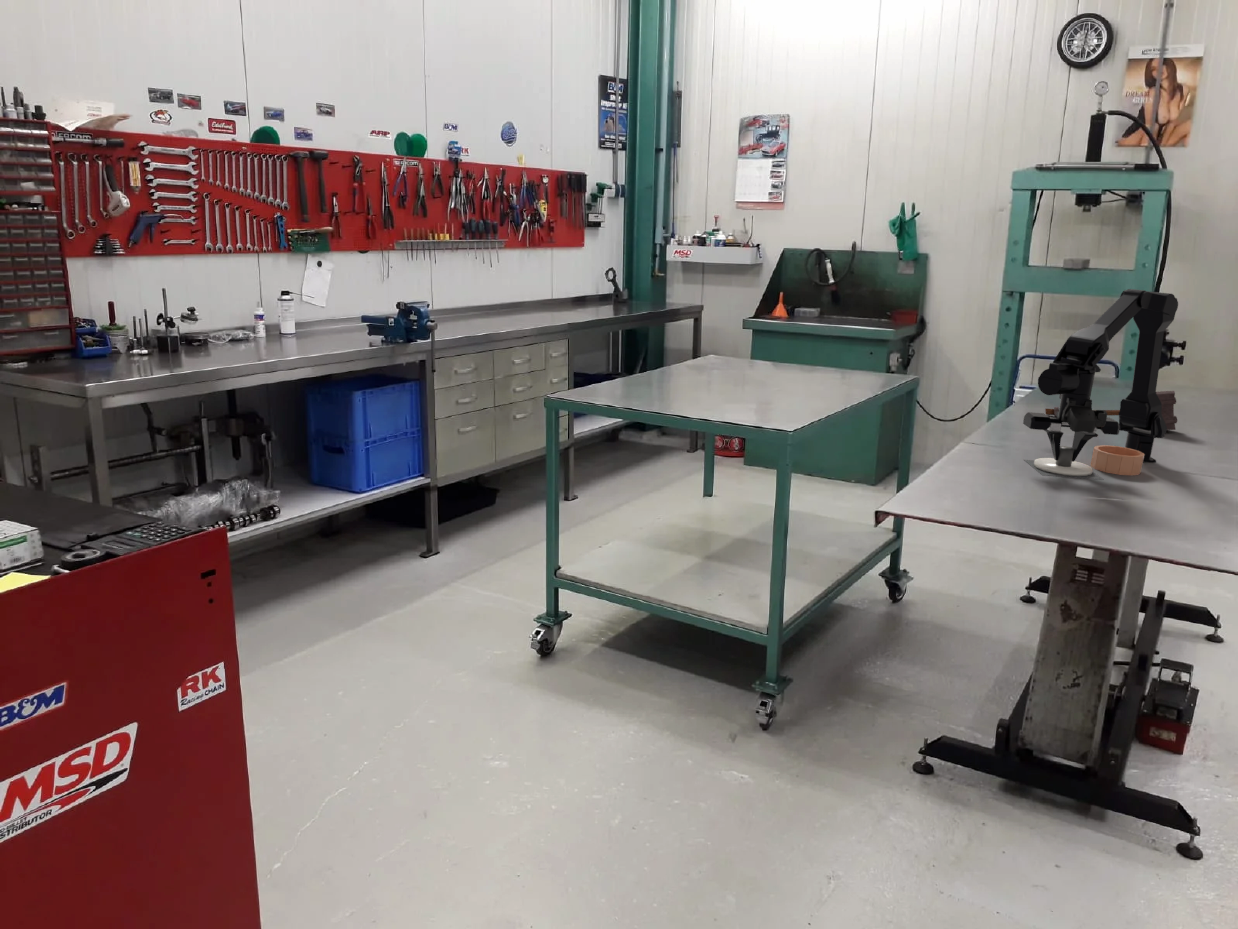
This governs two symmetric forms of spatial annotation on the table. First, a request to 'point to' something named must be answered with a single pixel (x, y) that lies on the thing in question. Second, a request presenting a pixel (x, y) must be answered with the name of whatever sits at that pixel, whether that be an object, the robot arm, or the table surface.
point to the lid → (1064, 464)
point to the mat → (1042, 472)
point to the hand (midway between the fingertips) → (1064, 460)
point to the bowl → (1117, 460)
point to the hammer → (1167, 409)
